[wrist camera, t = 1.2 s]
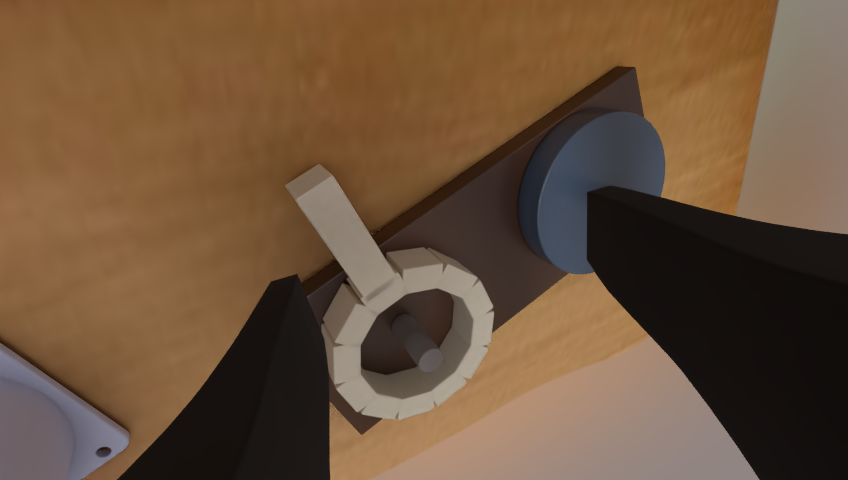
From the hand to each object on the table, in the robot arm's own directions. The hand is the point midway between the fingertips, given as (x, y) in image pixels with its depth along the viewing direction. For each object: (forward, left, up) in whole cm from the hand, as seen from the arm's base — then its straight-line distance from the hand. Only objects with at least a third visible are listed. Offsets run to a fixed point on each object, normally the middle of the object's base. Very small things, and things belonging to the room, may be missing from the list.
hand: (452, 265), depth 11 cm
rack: (+5, -8, -10) cm, 14 cm away
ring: (-1, -5, -9) cm, 11 cm away
